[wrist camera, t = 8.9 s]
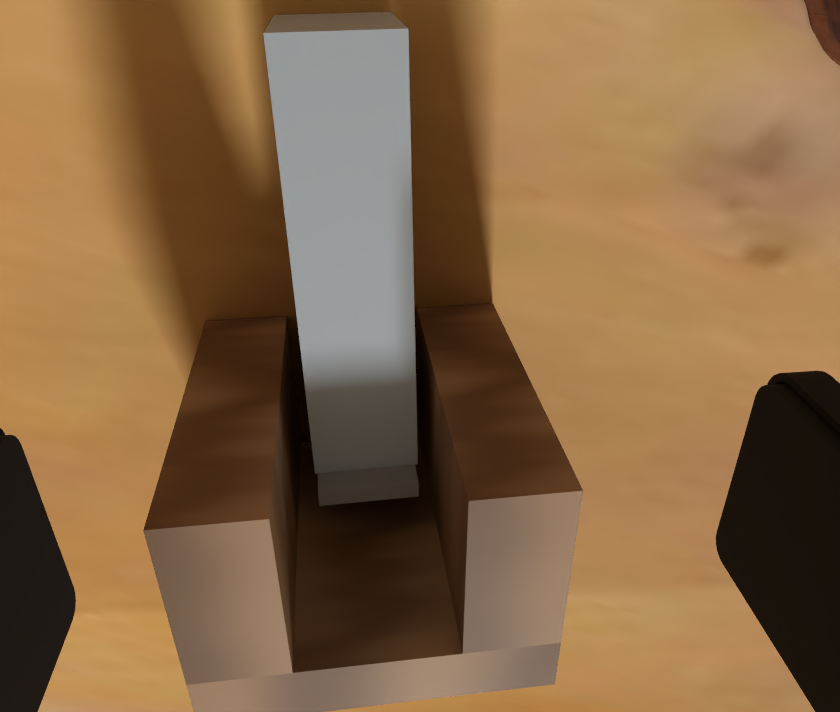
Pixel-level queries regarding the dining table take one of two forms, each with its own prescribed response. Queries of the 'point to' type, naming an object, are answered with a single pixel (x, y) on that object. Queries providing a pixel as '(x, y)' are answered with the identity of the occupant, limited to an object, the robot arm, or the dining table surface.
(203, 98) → the dining table surface
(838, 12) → the wooden figurine
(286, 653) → the brown wooden u-shaped block
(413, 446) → the rail
